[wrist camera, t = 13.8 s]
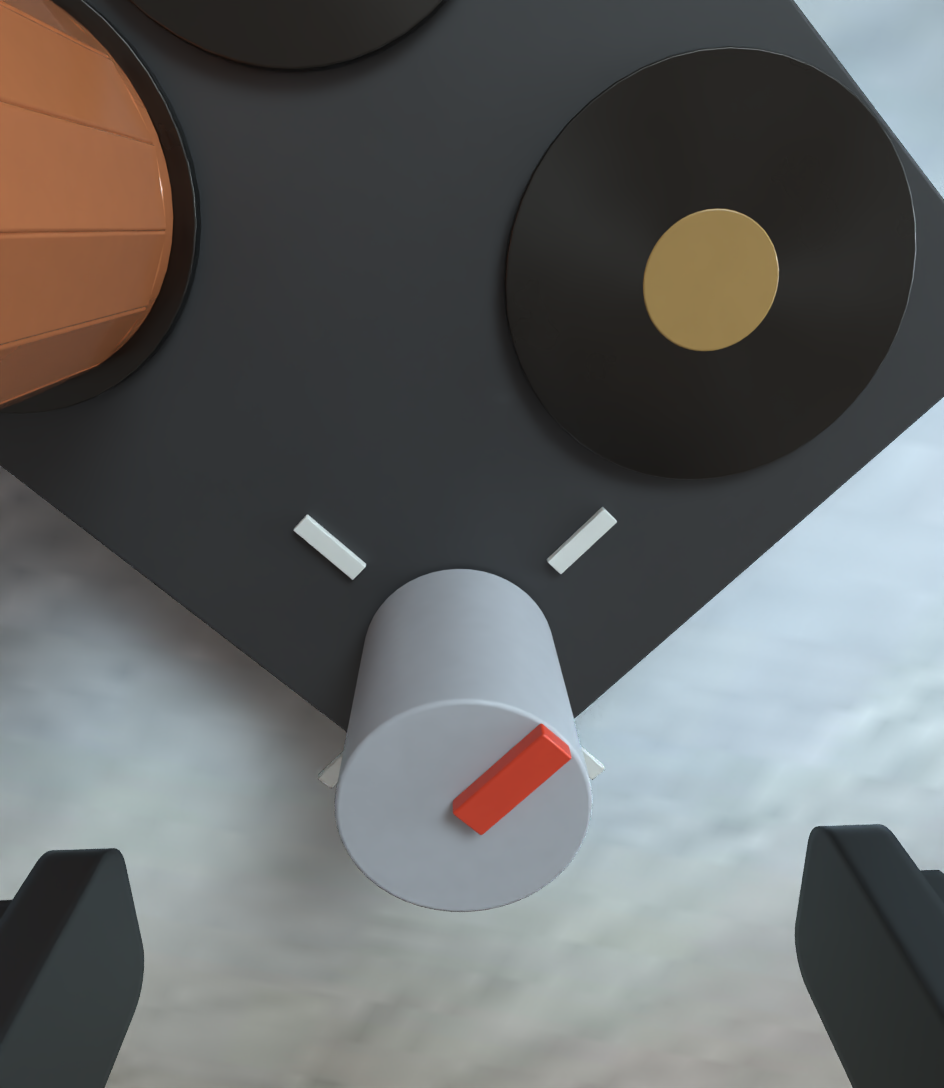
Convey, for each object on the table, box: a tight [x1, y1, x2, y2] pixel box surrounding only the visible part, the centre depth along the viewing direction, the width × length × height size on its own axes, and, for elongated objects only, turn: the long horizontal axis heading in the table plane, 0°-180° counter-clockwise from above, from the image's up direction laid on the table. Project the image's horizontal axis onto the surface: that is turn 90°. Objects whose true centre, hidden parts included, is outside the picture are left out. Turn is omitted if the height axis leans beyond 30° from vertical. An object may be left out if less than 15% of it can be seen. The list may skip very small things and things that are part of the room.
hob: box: [0, 0, 944, 788], centre depth 15 cm, size 15×19×3 cm
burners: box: [0, 0, 916, 480], centre depth 13 cm, size 14×16×1 cm
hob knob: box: [335, 569, 593, 912], centre depth 14 cm, size 4×4×5 cm
